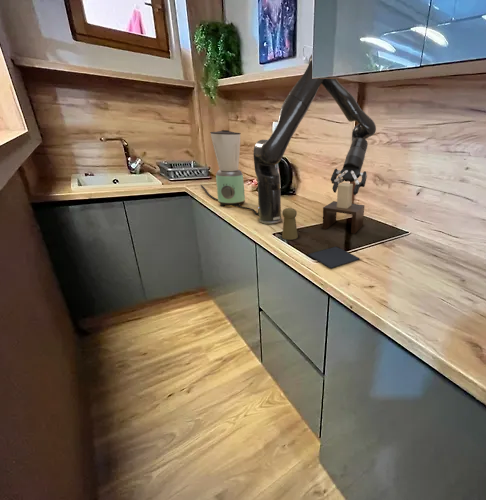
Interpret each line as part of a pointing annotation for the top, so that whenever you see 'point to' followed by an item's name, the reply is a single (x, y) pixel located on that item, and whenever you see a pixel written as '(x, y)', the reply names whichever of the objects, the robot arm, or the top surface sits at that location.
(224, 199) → the green blender
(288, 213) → the olive pepper mill
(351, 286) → the top surface
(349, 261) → the mat
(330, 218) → the shelf
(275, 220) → the robot arm
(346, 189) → the block
